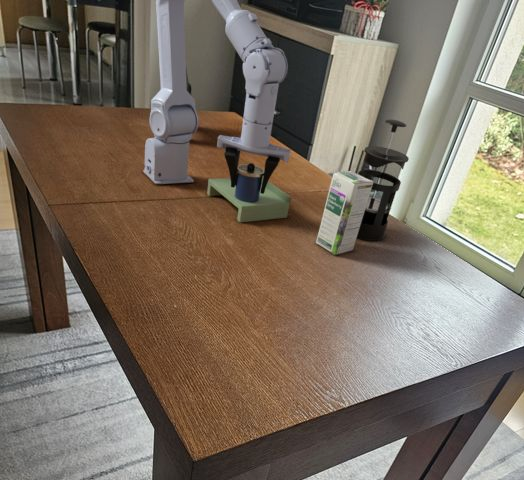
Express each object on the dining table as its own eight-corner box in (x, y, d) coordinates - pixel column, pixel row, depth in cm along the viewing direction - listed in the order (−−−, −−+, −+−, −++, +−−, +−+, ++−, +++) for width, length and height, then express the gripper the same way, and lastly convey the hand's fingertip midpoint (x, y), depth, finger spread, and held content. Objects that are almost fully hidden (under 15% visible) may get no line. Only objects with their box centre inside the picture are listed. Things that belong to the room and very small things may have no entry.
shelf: (239, 222, 104) (242, 200, 102) (206, 194, 114) (208, 173, 111) (286, 217, 110) (291, 196, 108) (252, 191, 120) (255, 171, 117)
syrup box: (314, 243, 102) (331, 172, 93) (334, 238, 106) (352, 169, 97) (334, 255, 99) (354, 183, 90) (354, 250, 103) (375, 180, 94)
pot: (230, 199, 104) (234, 164, 100) (235, 190, 109) (240, 156, 105) (257, 205, 104) (263, 170, 100) (262, 195, 109) (267, 162, 104)
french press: (393, 243, 109) (431, 131, 95) (354, 242, 106) (388, 127, 92) (369, 219, 117) (401, 114, 103) (332, 218, 114) (360, 109, 100)
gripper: (296, 123, 100) (284, 189, 108) (225, 108, 101) (218, 175, 109) (293, 131, 95) (280, 201, 103) (217, 115, 95) (210, 186, 103)
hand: (248, 189), depth 105 cm, fingers closed on pot, 6 cm apart
